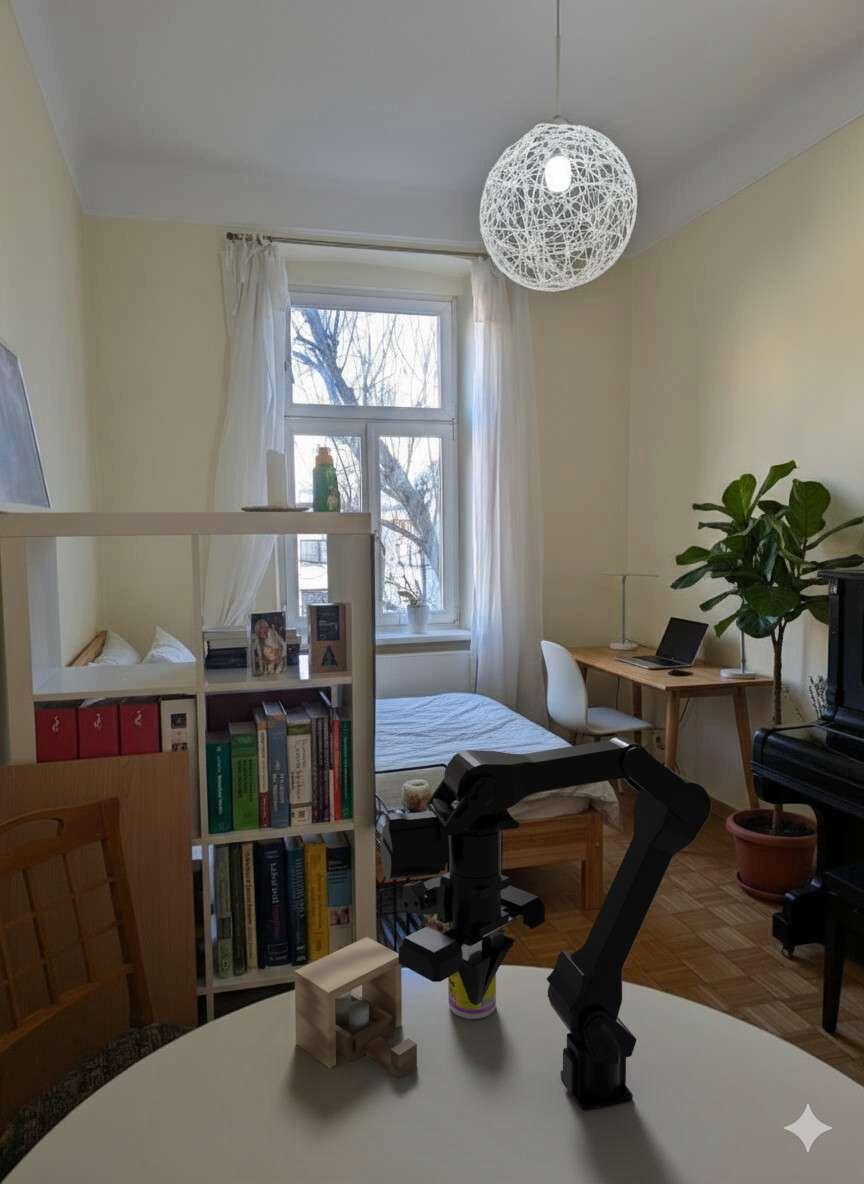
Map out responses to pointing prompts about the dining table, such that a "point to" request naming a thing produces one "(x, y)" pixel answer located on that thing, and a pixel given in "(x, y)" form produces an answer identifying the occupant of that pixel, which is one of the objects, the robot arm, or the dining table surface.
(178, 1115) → the dining table surface
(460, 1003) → the supplement bottle
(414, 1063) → the wooden box with handle
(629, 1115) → the dining table surface
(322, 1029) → the shelf
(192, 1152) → the dining table surface
